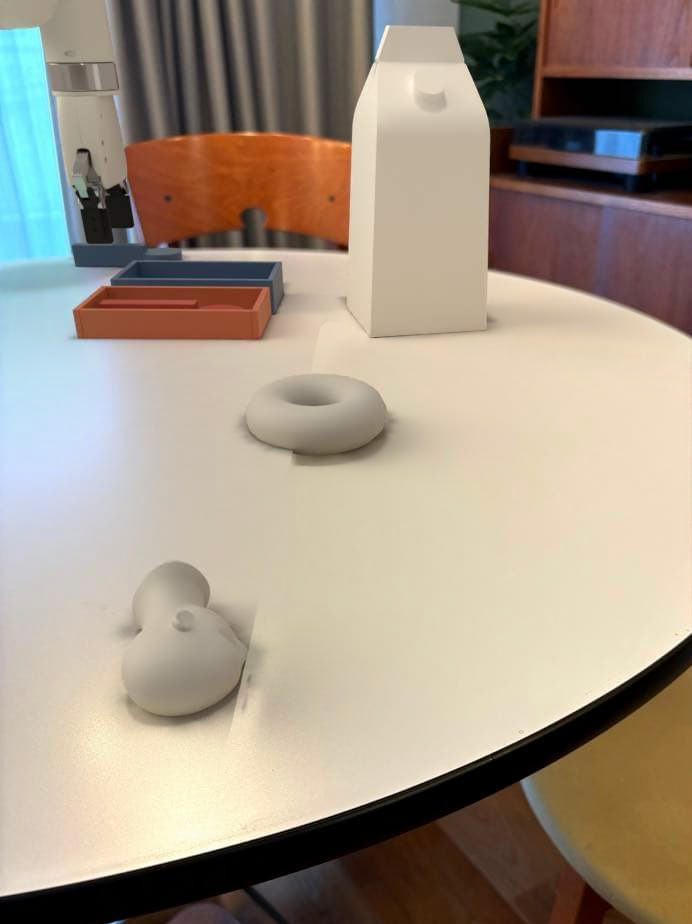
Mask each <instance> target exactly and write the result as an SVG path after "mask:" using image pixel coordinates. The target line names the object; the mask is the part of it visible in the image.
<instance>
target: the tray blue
mask: <svg viewBox="0 0 692 924" xmlns="http://www.w3.org/2000/svg"><path fill="white" fill-rule="evenodd" d="M283 273H284V271H283V262H282V261H281V260H280V261H276V260H275V261H270V260H269V261H268V260H262V261H261V260H260V261H259V260H252V261H251V260H183V261H162V260H133V261H132V262H131V263H129V264H128V265H127V266H126V267H122V268H121V270H120V271H118V272H117V273H116V274H114V275H113V276H112V277H110V279H109V281H110V286H203V287H269V288H270V302H271V315H276V312H277V309H278V308H279V305H280V303H281V301H282V297H283V295H284V294H285V293H284V292H285V289H284V276H283V275H284V274H283Z"/></svg>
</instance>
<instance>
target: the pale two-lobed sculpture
mask: <svg viewBox="0 0 692 924" xmlns="http://www.w3.org/2000/svg"><path fill="white" fill-rule="evenodd" d="M210 598H211V588H210V583H209V581H208V580H207V578H206V577H205V575H204V574H203V573H202V572H201V571H200V570H199V569H198V568H196V567H195V566H194V565H192V564H189V563H187V562H186V561H182V560H178V559H169V560H165V561H164V562H162V563H160V564H158V565H156V566H155V567H153V568H152V569H150V571H149V572H148V573H147V574H146V575H145V576H144V578H143V579H142V580H141V582H140V583H139V584H138V586H137V588H136V590H135V592H134V594H133V598H132V603H131V608H132V616H133V618H134V621H135V624H136V626H137V627H138V629H139V630H140V632H139V633H138V634H136V636H135V637H134V638H133V639H132V641H131V642H130V643H129V645H128V646H127V648H126V650H125V652H124V654H123V656H122V660H121V665H120V666H121V668H120V674H121V680H122V683H123V686H124V689H125V691H126V693H127V694H128V696H129V697H130V699H131V700H132V701H133V702H134V703H135V704H136V705H137V706H138V707H139V708H141V709H142V710H144V711H146V712H148V713H150V714H153V715H156V716H159V717H181V716H188V715H192V714H196V713H199V712H201V711H203V710H206V709H208V708H210V707H212V706H214V705H216V704H217V703H219V702H220V701H222V700H223V699H224V698H226V697H227V696H228V695H229V694H230V693H231V692H232V691H233V690H234V689H235V687H236V686H237V684H238V682H239V680H240V678H241V674H242V667H243V666H244V663H245V662H246V660H247V658H248V649H247V647H246V645H245V644H244V643H243V642H242V641H241V640H239V638H238V637H237V635H236V633H235V632H234V631H233V629H232V628H231V627H230V625H229V623H228V621H227V620H226V619H225V618H224V617H222V616H221V615H220V614H218V613H217V612H216V611H213V610H212V609H209V608H207V605H208V604H209V602H210Z"/></svg>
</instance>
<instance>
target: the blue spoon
mask: <svg viewBox="0 0 692 924" xmlns="http://www.w3.org/2000/svg"><path fill="white" fill-rule="evenodd" d="M147 246H148V245H147V243H143V242H142V243H141V242H140V243H139V242H136V243H135V242H133V243H132V242H131V243H129V242H113V243H111V244H88V243H87V242H74V243H73V244H71V249H72V250H71V251H72V256H73V261H74V266H75V267H95V268H96V267H106V268H107V267H108V268H111V267H113V268H115V267H116V268H124V267H126V266H127V265H128V264H129V263H131V262H132V261H133V260H162V261H184V258H183V251H182V249H180V248H177V247H155V248H148V247H147Z"/></svg>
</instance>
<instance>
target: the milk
mask: <svg viewBox="0 0 692 924" xmlns="http://www.w3.org/2000/svg"><path fill="white" fill-rule="evenodd" d="M351 136H352V137H351V157H350V158H351V160H350V161H351V162H350V190H349V191H350V192H349V193H350V194H349V221H348V222H349V224H348V250H347V251H348V253H347V283H346V284H347V285H346V286H347V288H346V308H347V310H348V311H349V312H350V314H351V315H352V316H353V317H354V319H355V320H356V321H357V322H358V324H359V325H360V326H361V328H362V329H363V330H364V331H365V333H366V334H367V335H368V337H369V338H382V337H383V338H384V337H399V336H413V335H415V336H416V335H429V334H431V335H433V334H444V333H445V334H446V333H461V332H476V331H477V332H478V331H487V327H488V324H487V323H488V278H489V277H488V276H489V275H488V274H489V271H488V270H489V267H488V266H489V216H490V215H489V214H490V167H491V166H490V165H491V164H490V158H491V156H490V155H491V128H490V122H489V117H488V115H487V111H486V108H485V106H484V103H483V101H482V99H481V96H480V94H479V91H478V89H477V86H476V84H475V82H474V79H473V77H472V75H471V73H470V71H469V69H468V66H467V64H466V63H465V58H464V55H463V52H462V49H461V46H460V43H459V40H458V37H457V34H456V30H455V27H454V26H438V25H437V26H435V25H433V26H432V25H428V26H427V25H399V24H398V25H395V24H393V25H392V24H389V25H388V24H387V25H385V28H384V31H383V33H382V37H381V39H380V42H379V46H378V49H377V51H376V54H375V58H374V62H373V63H372V65H371V68H370V69H369V73H368V74H367V78H366V81H365V83H364V84H363V88H362V90H361V93H360V95H359V98H358V100H357V103H356V105H355V109H354V113H353V119H352V128H351Z"/></svg>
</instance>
